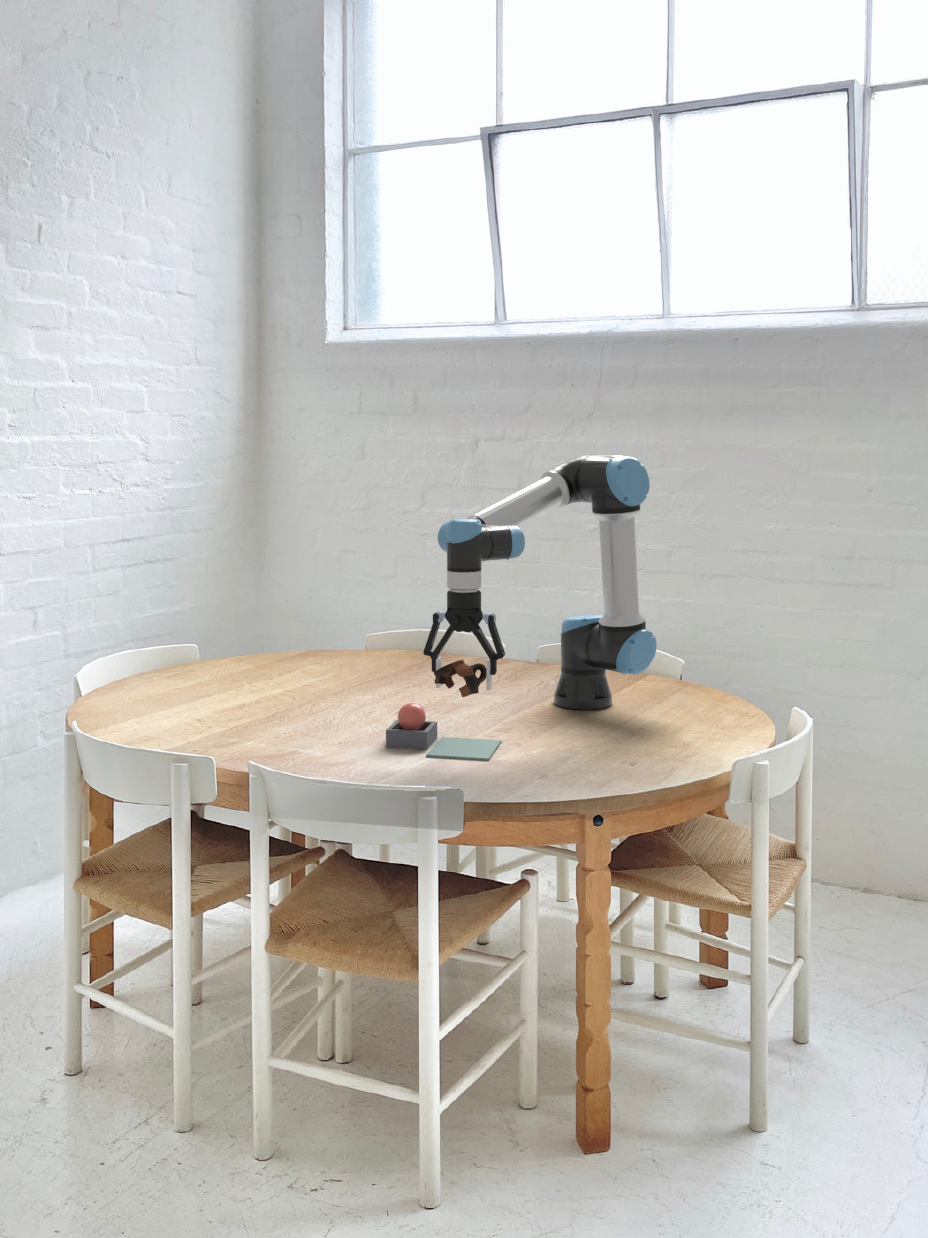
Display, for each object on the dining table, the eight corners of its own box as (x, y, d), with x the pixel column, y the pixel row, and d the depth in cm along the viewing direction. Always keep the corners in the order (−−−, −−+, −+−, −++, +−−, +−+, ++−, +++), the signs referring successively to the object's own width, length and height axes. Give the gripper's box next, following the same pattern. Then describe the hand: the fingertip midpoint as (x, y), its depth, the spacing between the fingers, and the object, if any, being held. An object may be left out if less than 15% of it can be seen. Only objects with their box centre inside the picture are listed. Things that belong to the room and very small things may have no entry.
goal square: (501, 742, 264) (501, 740, 264) (488, 760, 249) (488, 758, 249) (442, 739, 267) (442, 736, 267) (426, 756, 252) (426, 754, 252)
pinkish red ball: (428, 727, 265) (428, 700, 264) (422, 734, 259) (421, 707, 258) (402, 726, 267) (401, 699, 266) (394, 733, 261) (394, 705, 260)
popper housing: (437, 738, 267) (437, 721, 267) (427, 749, 258) (427, 732, 257) (397, 736, 269) (397, 719, 269) (386, 747, 260) (385, 729, 259)
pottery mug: (453, 702, 245) (437, 667, 246) (439, 712, 254) (424, 678, 255) (500, 682, 250) (484, 648, 251) (485, 693, 259) (470, 659, 260)
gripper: (519, 589, 253) (518, 686, 257) (417, 585, 258) (418, 681, 262) (513, 593, 246) (512, 694, 250) (408, 590, 251) (409, 688, 255)
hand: (464, 687), depth 256 cm, fingers closed on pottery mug, 11 cm apart
